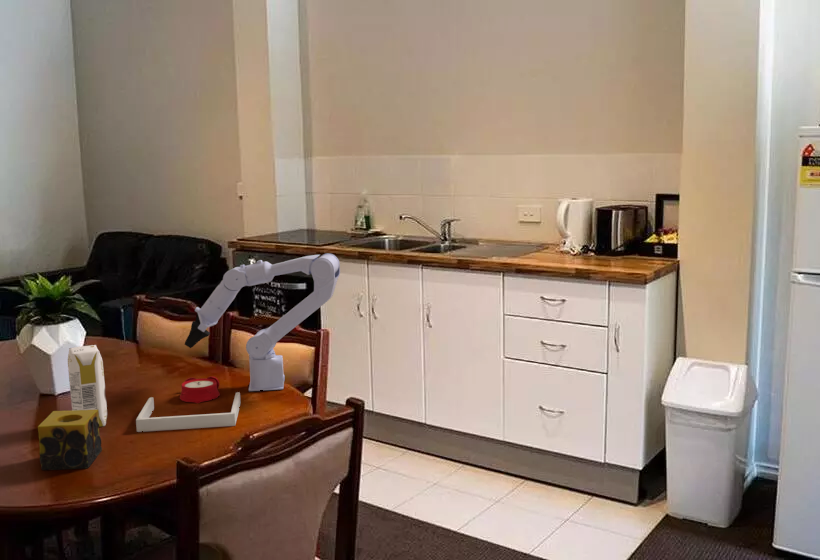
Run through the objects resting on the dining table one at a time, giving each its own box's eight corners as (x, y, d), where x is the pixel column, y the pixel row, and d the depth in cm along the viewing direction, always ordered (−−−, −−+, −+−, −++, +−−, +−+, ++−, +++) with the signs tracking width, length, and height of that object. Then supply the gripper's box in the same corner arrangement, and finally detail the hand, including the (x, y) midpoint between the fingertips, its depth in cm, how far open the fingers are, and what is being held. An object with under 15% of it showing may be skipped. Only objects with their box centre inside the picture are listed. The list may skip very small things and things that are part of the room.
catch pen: (240, 403, 211) (239, 392, 211) (235, 425, 194) (234, 413, 194) (150, 408, 208) (149, 397, 208) (136, 431, 191) (135, 419, 191)
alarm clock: (176, 392, 210) (182, 365, 224) (178, 413, 212) (184, 385, 226) (216, 390, 211) (220, 363, 225) (218, 410, 214) (222, 383, 228)
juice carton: (75, 432, 192) (68, 355, 189) (72, 421, 199) (65, 347, 196) (109, 426, 195) (102, 350, 192) (104, 416, 203) (98, 343, 200)
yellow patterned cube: (56, 453, 179) (52, 410, 177) (103, 451, 180) (99, 408, 178) (39, 471, 169) (34, 426, 167) (89, 469, 170) (84, 424, 168)
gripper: (209, 287, 228) (182, 323, 231) (201, 304, 215) (172, 342, 217) (230, 301, 230) (203, 336, 233) (223, 318, 216) (195, 356, 219)
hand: (190, 340), depth 225 cm, fingers open, 7 cm apart
